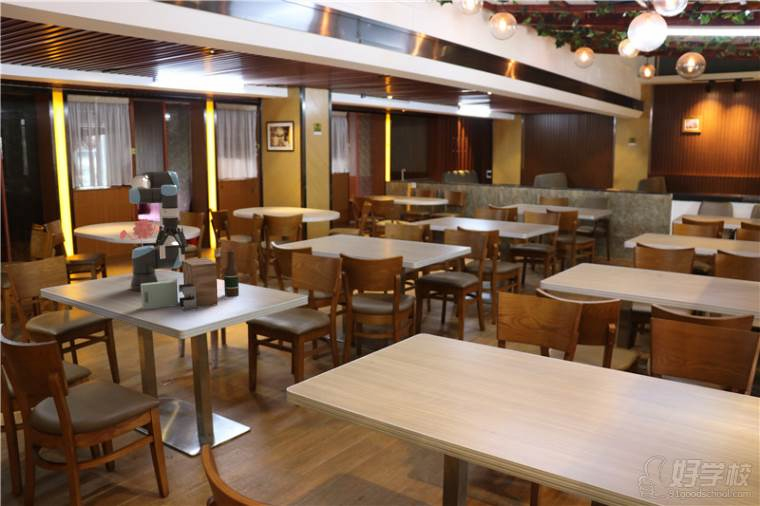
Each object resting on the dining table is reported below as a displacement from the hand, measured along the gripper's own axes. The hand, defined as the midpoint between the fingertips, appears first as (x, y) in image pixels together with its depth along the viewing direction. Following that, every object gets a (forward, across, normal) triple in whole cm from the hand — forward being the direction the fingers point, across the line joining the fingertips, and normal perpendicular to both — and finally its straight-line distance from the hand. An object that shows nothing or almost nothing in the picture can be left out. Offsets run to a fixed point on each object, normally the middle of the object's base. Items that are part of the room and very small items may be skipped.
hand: (172, 259), depth 317 cm
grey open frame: (+23, +10, -1) cm, 25 cm away
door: (+23, -4, -6) cm, 24 cm away
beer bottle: (+23, +8, +32) cm, 40 cm away
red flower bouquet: (+23, -71, +41) cm, 86 cm away
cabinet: (+23, +7, +11) cm, 27 cm away
